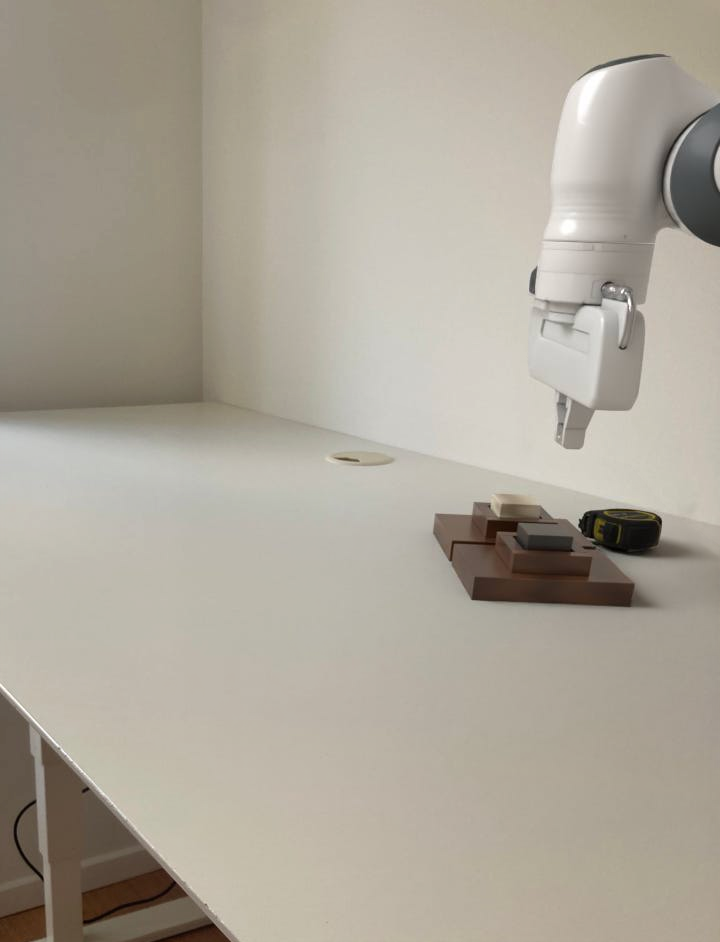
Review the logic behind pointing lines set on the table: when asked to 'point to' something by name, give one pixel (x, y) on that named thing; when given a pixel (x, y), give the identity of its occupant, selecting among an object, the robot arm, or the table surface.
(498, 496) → the ivory key
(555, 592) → the key block near
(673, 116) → the robot arm
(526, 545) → the black key
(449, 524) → the key block far
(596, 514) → the tape measure
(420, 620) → the table surface
